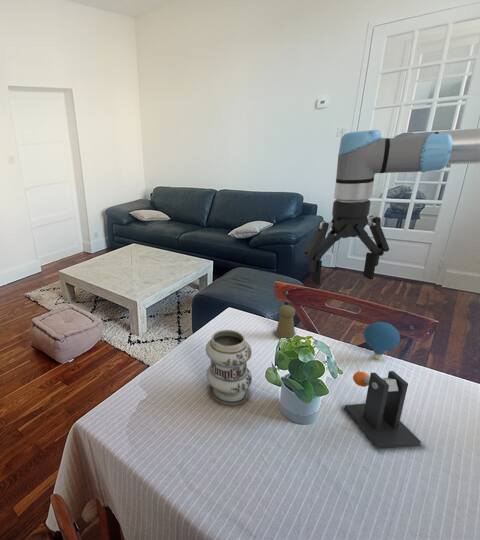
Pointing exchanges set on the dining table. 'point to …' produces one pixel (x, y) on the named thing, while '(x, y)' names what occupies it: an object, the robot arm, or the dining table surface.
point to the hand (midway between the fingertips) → (341, 280)
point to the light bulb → (381, 337)
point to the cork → (286, 322)
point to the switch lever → (364, 378)
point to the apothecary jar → (228, 366)
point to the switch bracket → (383, 414)
